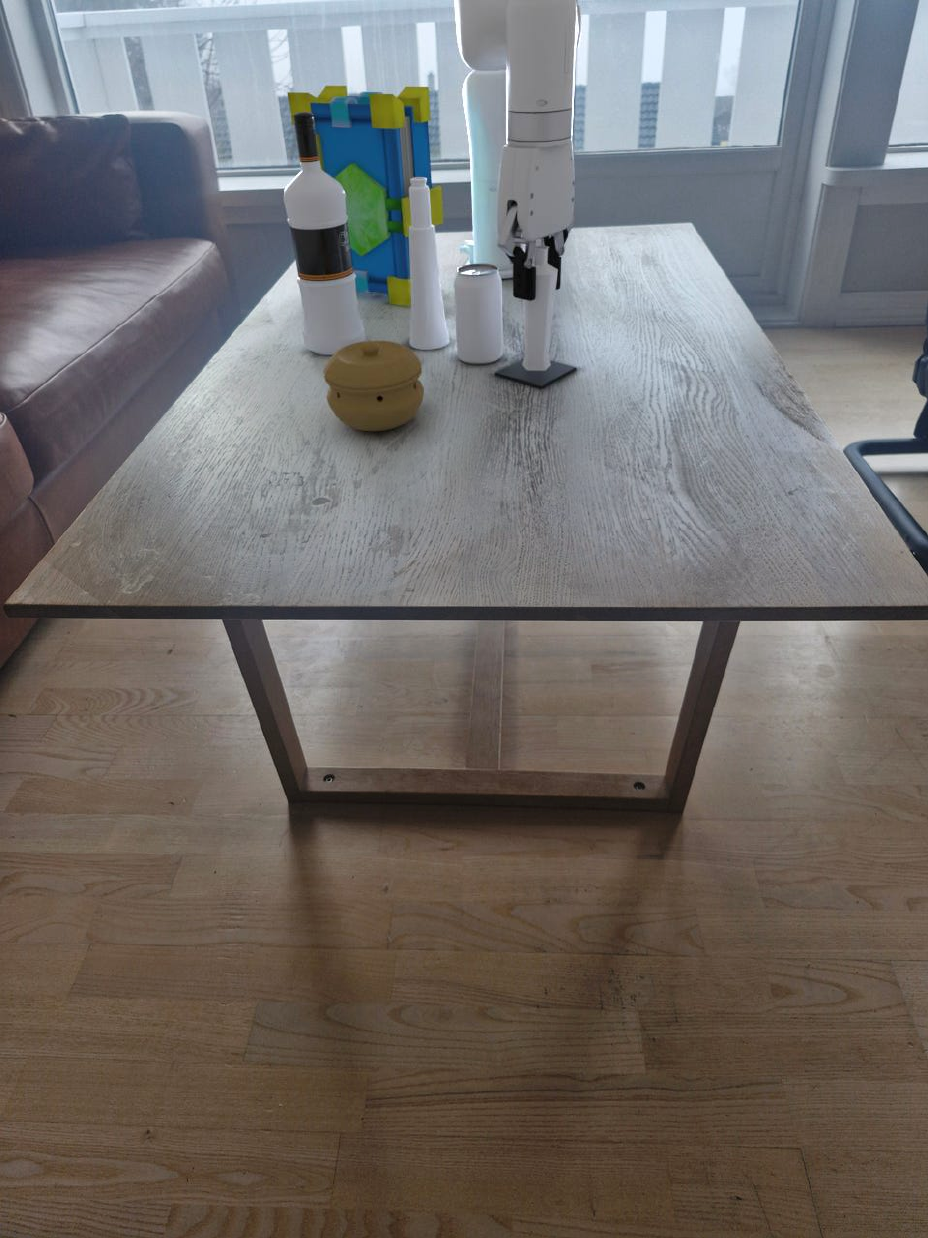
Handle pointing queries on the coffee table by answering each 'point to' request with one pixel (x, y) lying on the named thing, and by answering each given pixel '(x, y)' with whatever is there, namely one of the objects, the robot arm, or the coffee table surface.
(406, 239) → the decorative book
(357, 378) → the pot
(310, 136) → the vodka
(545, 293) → the perfume bottle
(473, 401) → the coffee table surface
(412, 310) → the cosmetic bottle
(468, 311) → the can
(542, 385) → the coaster
